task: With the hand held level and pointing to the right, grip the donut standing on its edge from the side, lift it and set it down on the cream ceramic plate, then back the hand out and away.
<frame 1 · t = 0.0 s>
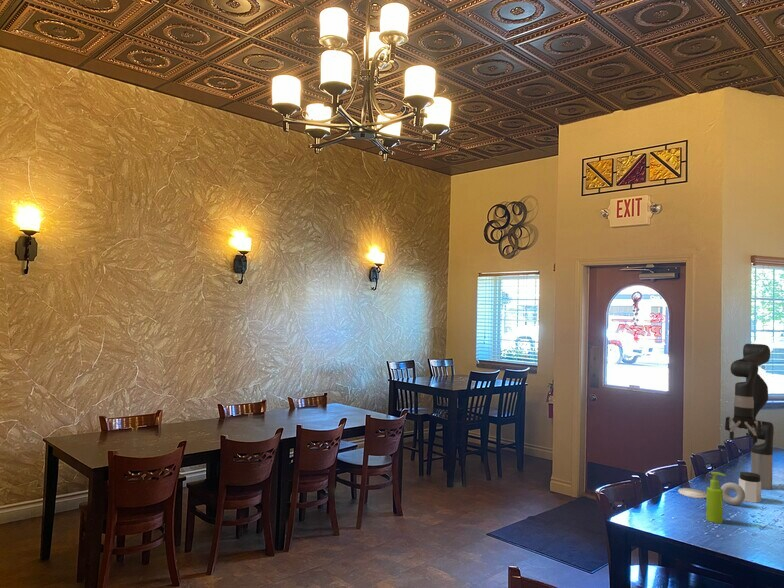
hand: (743, 441, 256), 29 cm above the table, tool pointing down, fingers open, 8 cm apart
plate: (693, 494, 273), on the table
jar: (749, 500, 267), on the table
donut: (732, 505, 259), on the table
soap dispenser: (715, 521, 237), on the table
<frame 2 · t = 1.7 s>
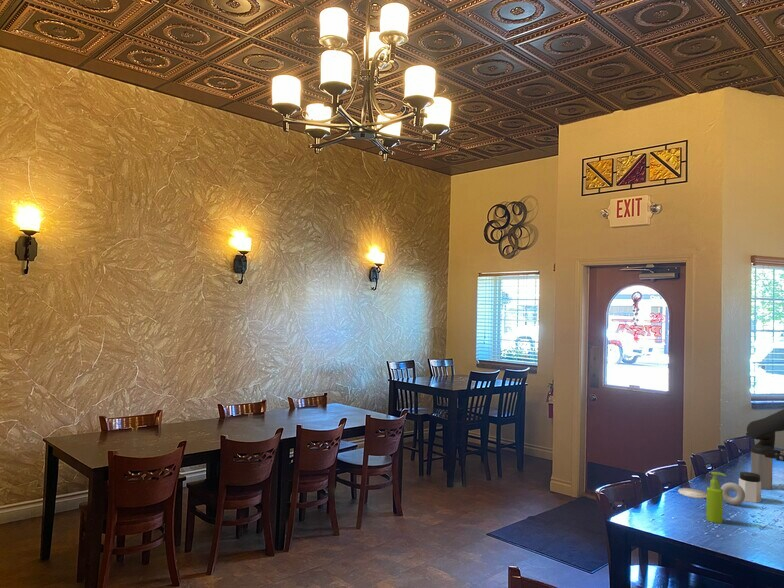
hand: (766, 452, 251), 26 cm above the table, tool horizontal, fingers open, 8 cm apart
nothing on the table moved.
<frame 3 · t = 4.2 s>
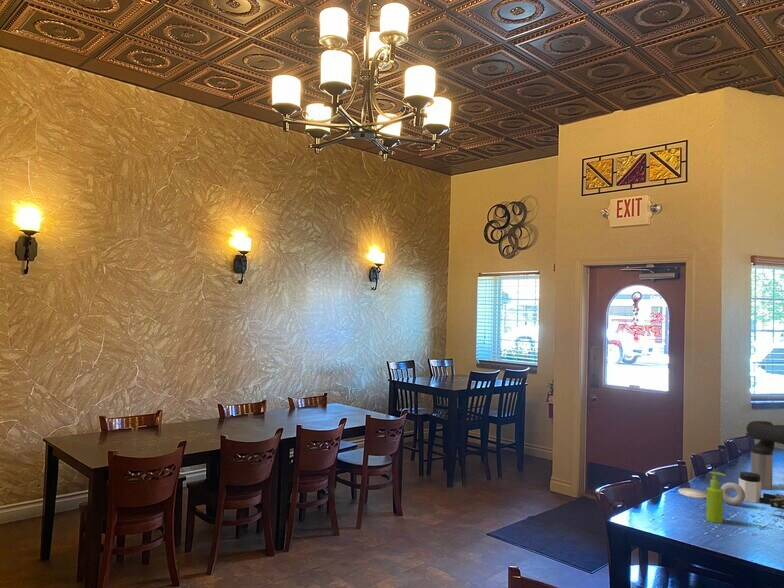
hand: (761, 497, 252), 6 cm above the table, tool horizontal, fingers open, 8 cm apart
nothing on the table moved.
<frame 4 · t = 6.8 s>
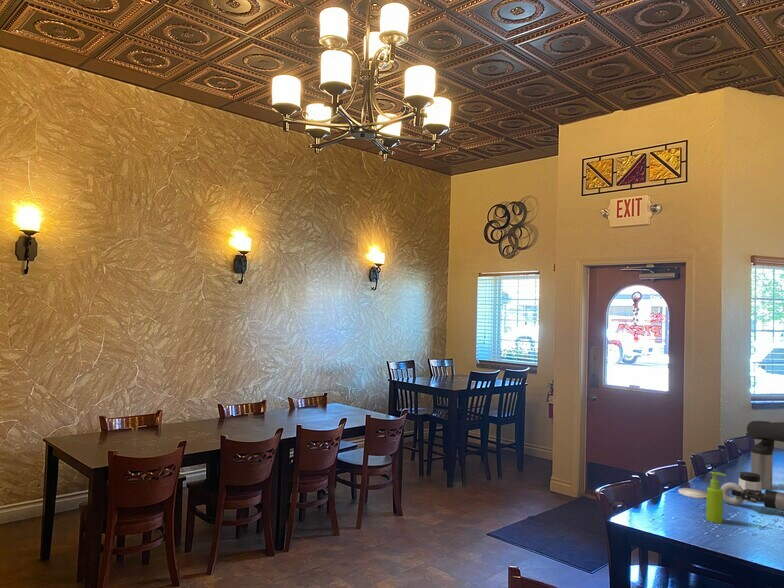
hand: (733, 491, 259), 6 cm above the table, tool horizontal, fingers closed on donut, 3 cm apart
donut: (732, 505, 259), on the table, touching gripper
everything else where it was.
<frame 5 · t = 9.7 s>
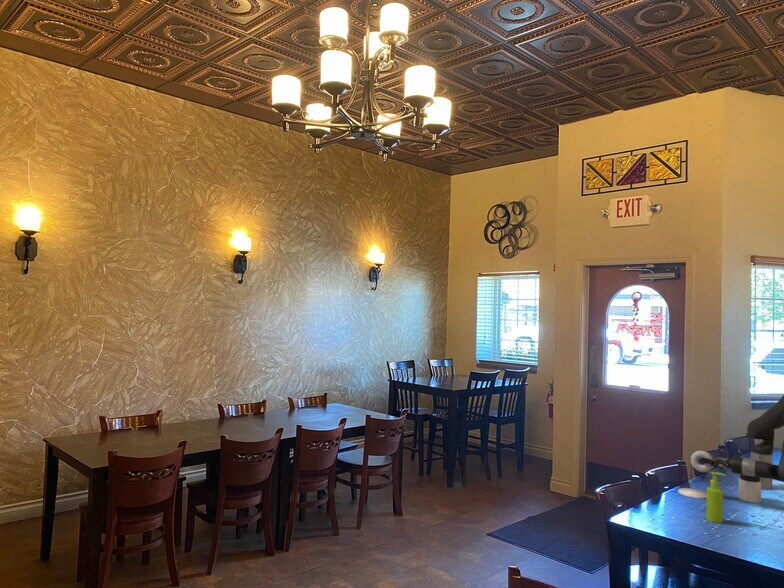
hand: (702, 459, 270), 18 cm above the table, tool horizontal, fingers closed on donut, 3 cm apart
donut: (702, 472, 270), point 11 cm above the table, touching gripper
everything else where it was.
when the fingers open (9 cm above the table, at t = 12.6 s): donut drops 1 cm, resting on plate.
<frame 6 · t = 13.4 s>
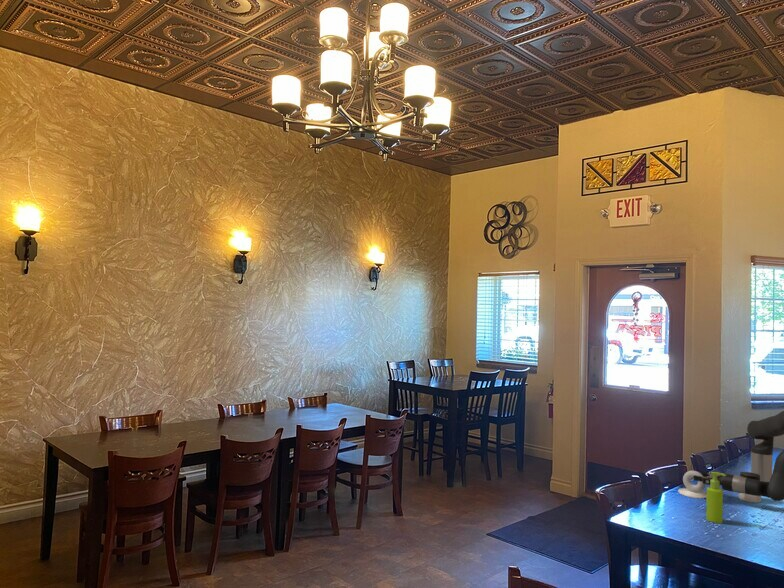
hand: (696, 475, 272), 9 cm above the table, tool horizontal, fingers open, 8 cm apart
donut: (694, 492, 273), point 1 cm above the table, touching plate
everything else where it was.
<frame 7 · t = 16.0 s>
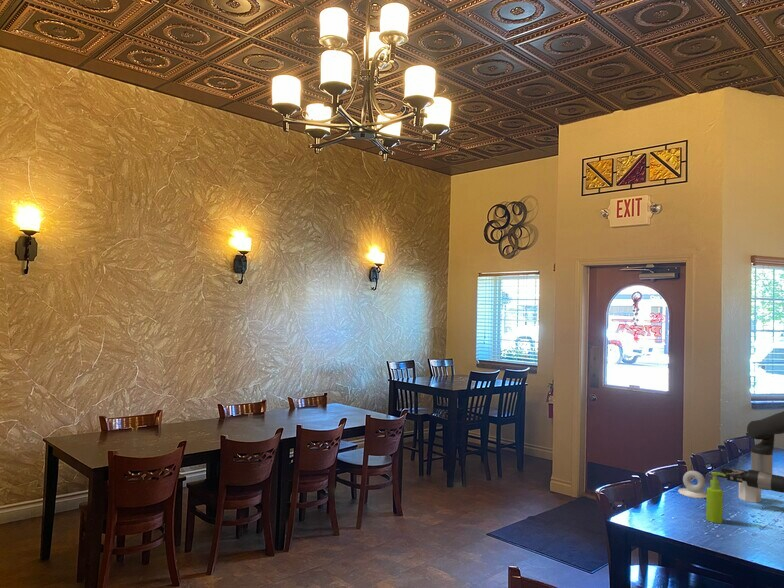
hand: (719, 471, 266), 13 cm above the table, tool horizontal, fingers open, 8 cm apart
nothing on the table moved.
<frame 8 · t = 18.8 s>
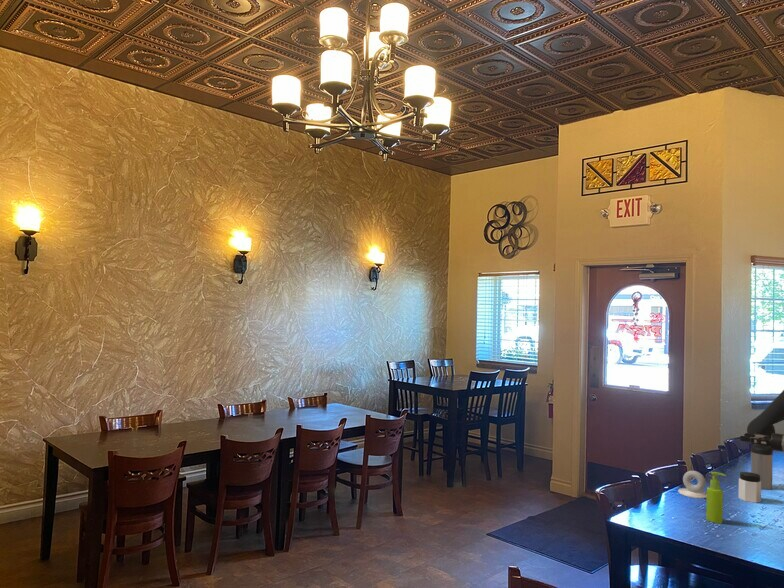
hand: (742, 436, 264), 30 cm above the table, tool horizontal, fingers open, 8 cm apart
nothing on the table moved.
at the end: donut 0.3 cm from the plate (horizontally); donut touching plate; the gripper is holding nothing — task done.
